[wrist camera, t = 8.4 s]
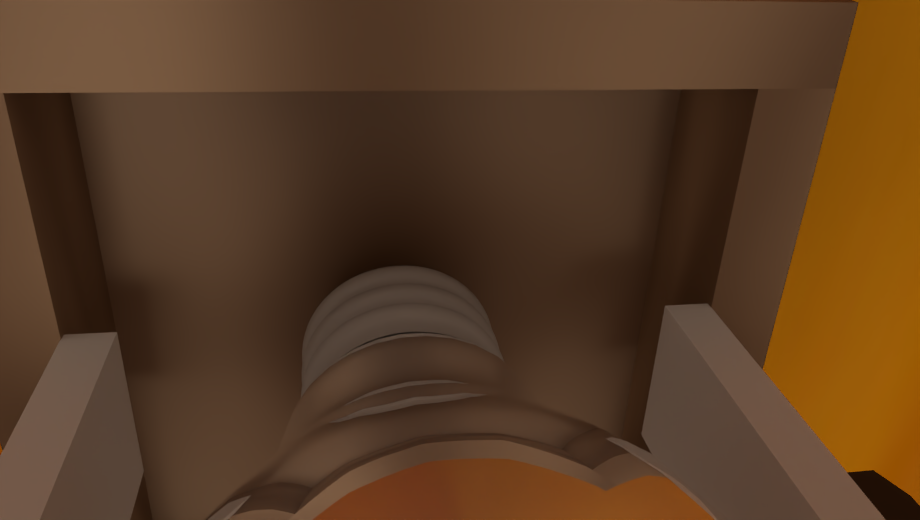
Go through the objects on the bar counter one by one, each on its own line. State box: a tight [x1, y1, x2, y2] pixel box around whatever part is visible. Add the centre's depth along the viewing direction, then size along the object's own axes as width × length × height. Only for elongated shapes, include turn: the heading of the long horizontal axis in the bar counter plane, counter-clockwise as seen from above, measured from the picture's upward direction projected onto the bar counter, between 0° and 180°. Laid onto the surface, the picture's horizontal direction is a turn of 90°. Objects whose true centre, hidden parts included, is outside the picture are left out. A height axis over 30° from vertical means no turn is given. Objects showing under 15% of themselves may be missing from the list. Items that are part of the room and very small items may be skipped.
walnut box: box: [0, 0, 858, 520], centre depth 15 cm, size 12×12×6 cm
